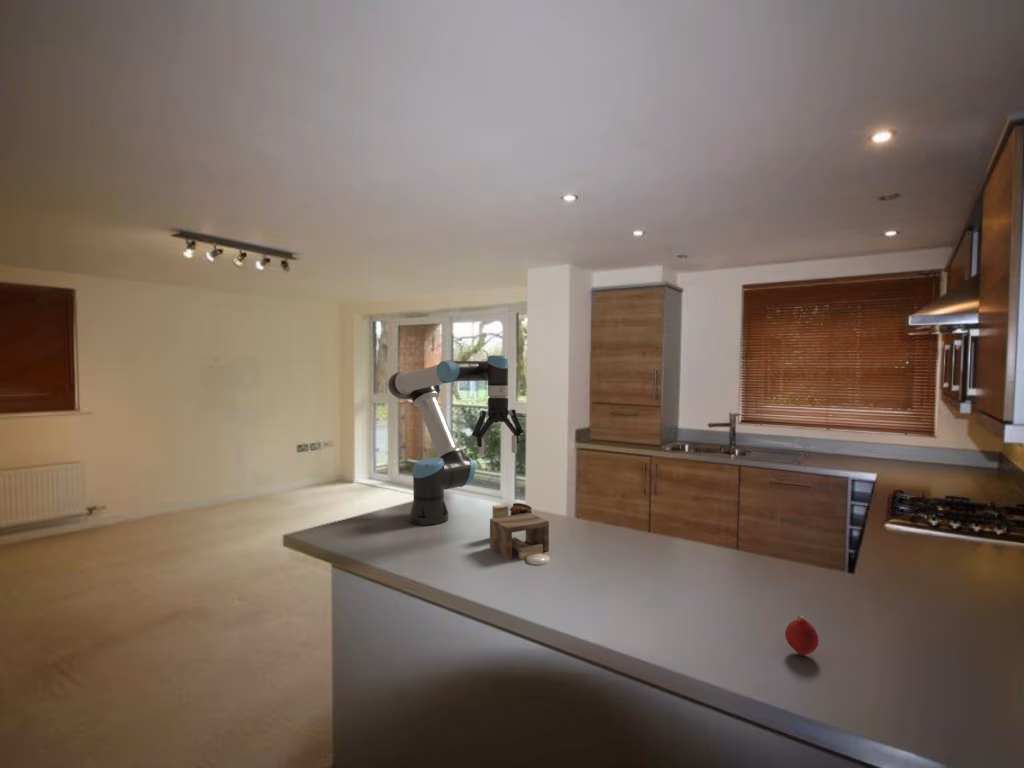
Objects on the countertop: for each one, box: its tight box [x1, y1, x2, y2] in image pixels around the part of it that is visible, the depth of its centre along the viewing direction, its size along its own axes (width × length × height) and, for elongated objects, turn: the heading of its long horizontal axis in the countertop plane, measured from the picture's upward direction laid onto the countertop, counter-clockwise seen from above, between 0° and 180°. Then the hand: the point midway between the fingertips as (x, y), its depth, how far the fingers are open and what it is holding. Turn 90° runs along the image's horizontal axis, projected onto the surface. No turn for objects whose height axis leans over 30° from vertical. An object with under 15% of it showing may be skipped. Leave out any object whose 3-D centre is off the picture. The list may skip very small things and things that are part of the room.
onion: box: [784, 615, 820, 656], centre depth 105 cm, size 6×6×8 cm
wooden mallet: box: [491, 503, 544, 560], centre depth 170 cm, size 23×8×11 cm, turn 29°
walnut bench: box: [489, 512, 550, 560], centre depth 167 cm, size 12×15×10 cm
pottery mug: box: [509, 502, 533, 515], centre depth 197 cm, size 12×10×8 cm
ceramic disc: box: [526, 553, 551, 566], centre depth 157 cm, size 7×7×1 cm
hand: (498, 454), depth 192 cm, fingers open, 13 cm apart
